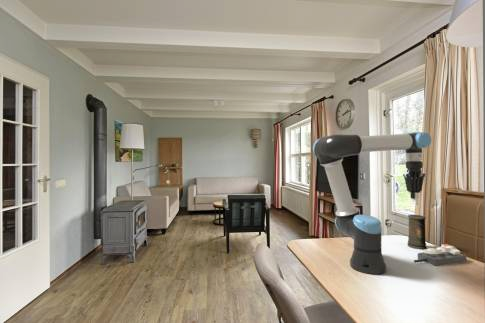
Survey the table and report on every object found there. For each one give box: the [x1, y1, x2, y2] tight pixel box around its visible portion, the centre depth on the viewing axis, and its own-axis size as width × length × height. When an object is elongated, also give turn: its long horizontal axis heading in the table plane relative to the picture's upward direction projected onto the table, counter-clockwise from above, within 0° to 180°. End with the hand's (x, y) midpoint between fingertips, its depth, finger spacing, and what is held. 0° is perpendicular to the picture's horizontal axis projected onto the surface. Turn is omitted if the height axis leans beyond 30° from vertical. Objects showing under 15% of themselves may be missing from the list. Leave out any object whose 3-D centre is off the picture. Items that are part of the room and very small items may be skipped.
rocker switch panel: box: [413, 252, 467, 267], centre depth 124 cm, size 27×9×3 cm, turn 105°
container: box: [407, 214, 428, 250], centre depth 145 cm, size 9×9×18 cm
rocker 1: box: [422, 247, 442, 255], centre depth 123 cm, size 4×7×3 cm, turn 15°
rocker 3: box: [440, 243, 461, 255], centre depth 126 cm, size 4×7×3 cm, turn 15°
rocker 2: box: [435, 246, 451, 254], centre depth 125 cm, size 4×7×3 cm, turn 15°
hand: (414, 204), depth 135 cm, fingers closed
